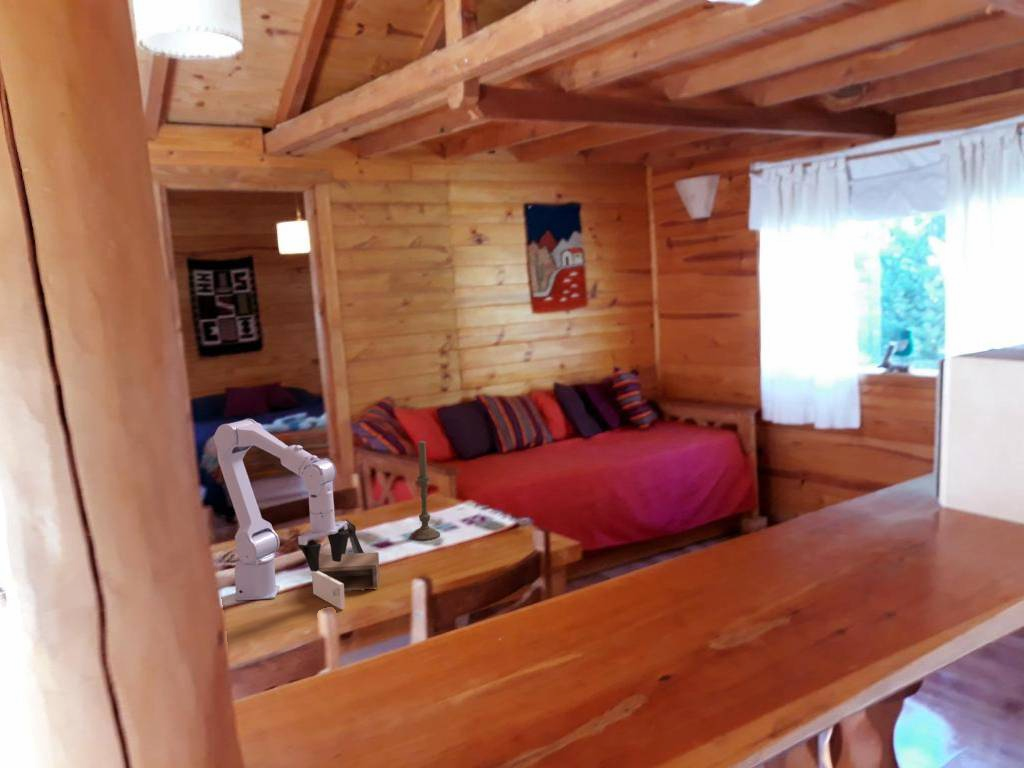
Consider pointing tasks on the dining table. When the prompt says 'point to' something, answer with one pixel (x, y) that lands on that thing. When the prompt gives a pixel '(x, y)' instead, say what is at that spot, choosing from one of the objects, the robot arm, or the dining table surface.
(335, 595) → the door
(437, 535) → the candlestick holder
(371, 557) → the cabinet
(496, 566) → the dining table surface
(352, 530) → the dark grey a-frame stand
